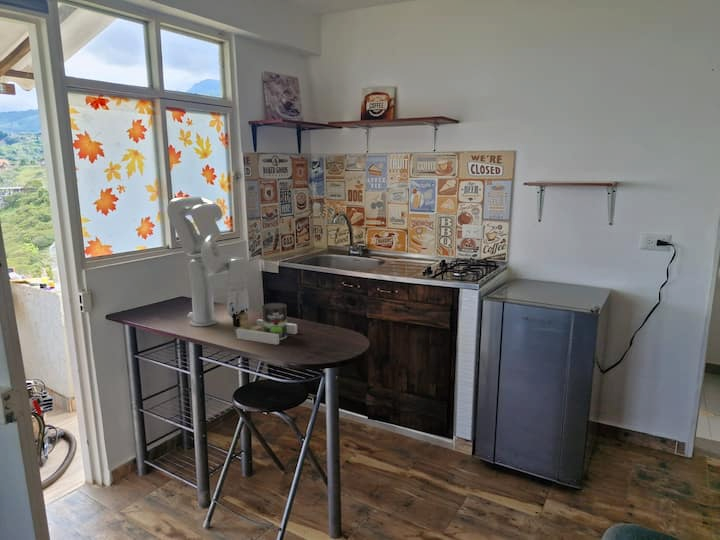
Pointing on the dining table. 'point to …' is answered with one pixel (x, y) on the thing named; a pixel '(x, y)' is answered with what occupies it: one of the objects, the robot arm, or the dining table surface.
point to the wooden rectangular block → (246, 323)
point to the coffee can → (275, 319)
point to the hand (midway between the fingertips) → (239, 324)
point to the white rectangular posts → (263, 334)
